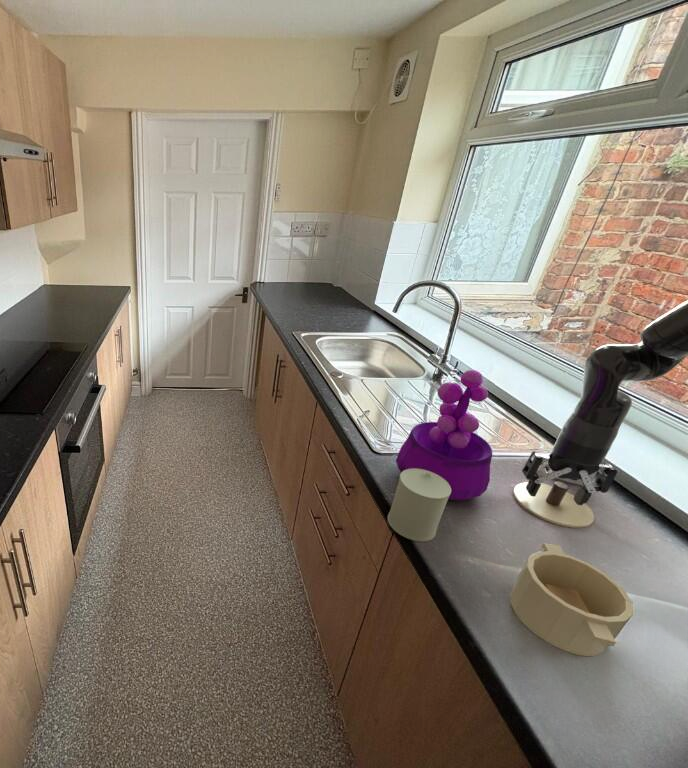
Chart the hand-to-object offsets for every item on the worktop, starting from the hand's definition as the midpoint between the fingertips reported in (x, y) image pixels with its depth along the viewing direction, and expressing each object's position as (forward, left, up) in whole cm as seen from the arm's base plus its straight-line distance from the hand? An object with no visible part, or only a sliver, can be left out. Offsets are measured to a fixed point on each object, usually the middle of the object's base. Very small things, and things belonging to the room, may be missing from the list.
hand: (553, 498), depth 91 cm
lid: (0, 0, -2) cm, 2 cm away
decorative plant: (+22, -1, -3) cm, 22 cm away
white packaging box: (-8, -14, -3) cm, 17 cm away
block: (+10, +31, -2) cm, 32 cm away
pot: (+10, +31, -2) cm, 32 cm away
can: (+30, +16, -3) cm, 34 cm away
